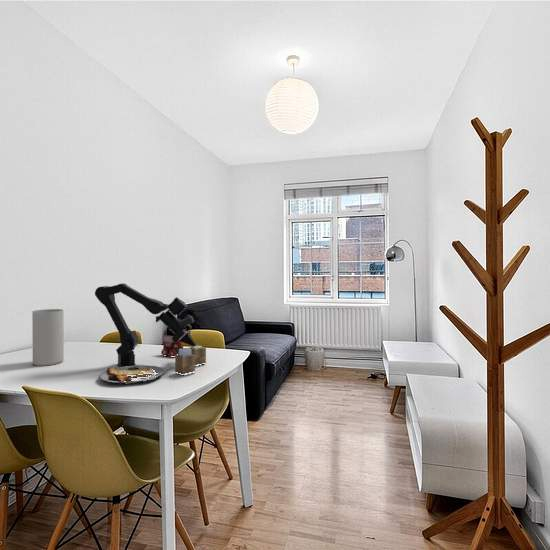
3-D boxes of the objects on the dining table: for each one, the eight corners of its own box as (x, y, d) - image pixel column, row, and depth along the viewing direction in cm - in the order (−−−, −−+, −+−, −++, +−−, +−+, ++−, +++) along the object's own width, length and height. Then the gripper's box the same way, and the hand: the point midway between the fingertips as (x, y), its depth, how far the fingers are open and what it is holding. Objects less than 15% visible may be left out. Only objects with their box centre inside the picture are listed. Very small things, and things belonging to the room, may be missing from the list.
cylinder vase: (48, 367, 164) (48, 312, 163) (25, 365, 166) (25, 311, 166) (69, 360, 176) (69, 309, 176) (48, 358, 179) (47, 308, 178)
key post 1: (195, 367, 165) (195, 349, 165) (187, 364, 169) (187, 347, 169) (205, 364, 170) (205, 347, 170) (198, 362, 174) (198, 345, 174)
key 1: (195, 365, 167) (195, 347, 167) (191, 363, 169) (191, 346, 169) (202, 363, 170) (202, 346, 170) (197, 362, 172) (197, 345, 172)
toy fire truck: (177, 358, 181) (177, 338, 181) (158, 356, 186) (158, 336, 186) (186, 355, 187) (186, 335, 187) (167, 353, 192) (168, 333, 192)
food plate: (93, 388, 135) (93, 379, 135) (104, 372, 157) (104, 364, 157) (163, 384, 142) (163, 375, 142) (164, 369, 164) (164, 361, 164)
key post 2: (183, 376, 151) (183, 357, 151) (175, 373, 155) (175, 355, 155) (195, 373, 156) (195, 354, 155) (186, 370, 160) (187, 352, 159)
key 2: (183, 369, 153) (184, 350, 152) (178, 367, 155) (178, 348, 155) (191, 367, 155) (191, 348, 155) (186, 365, 158) (186, 347, 158)
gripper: (179, 312, 160) (204, 337, 160) (187, 308, 178) (209, 330, 179) (161, 330, 159) (186, 354, 160) (171, 323, 178) (193, 345, 179)
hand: (195, 345), depth 169 cm, fingers closed
